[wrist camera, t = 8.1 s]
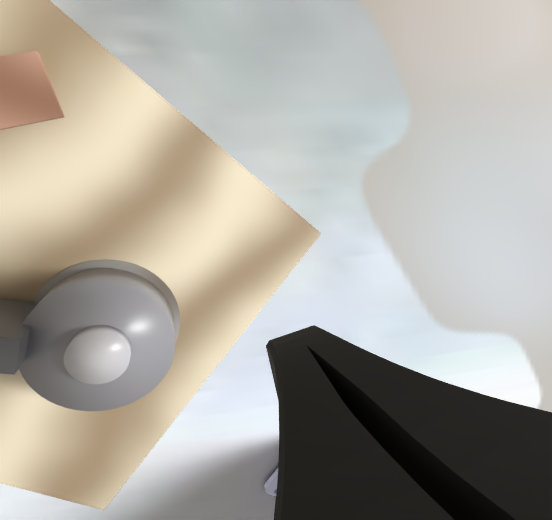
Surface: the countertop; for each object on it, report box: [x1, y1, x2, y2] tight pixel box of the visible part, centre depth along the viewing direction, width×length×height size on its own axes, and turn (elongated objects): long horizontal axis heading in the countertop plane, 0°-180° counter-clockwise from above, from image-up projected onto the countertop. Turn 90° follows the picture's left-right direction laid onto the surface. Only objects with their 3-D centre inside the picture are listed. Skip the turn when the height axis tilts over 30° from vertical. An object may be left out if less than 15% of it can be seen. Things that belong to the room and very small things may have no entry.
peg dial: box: [0, 268, 175, 411], centre depth 13 cm, size 12×6×3 cm, turn 72°
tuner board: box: [0, 0, 321, 510], centre depth 15 cm, size 18×20×1 cm
